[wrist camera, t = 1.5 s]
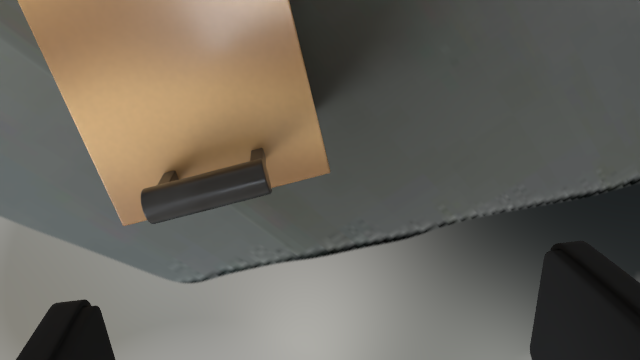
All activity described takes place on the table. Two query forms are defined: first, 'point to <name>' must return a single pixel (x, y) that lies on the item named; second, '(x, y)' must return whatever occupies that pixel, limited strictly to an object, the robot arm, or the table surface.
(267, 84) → the chest lid
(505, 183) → the table surface
